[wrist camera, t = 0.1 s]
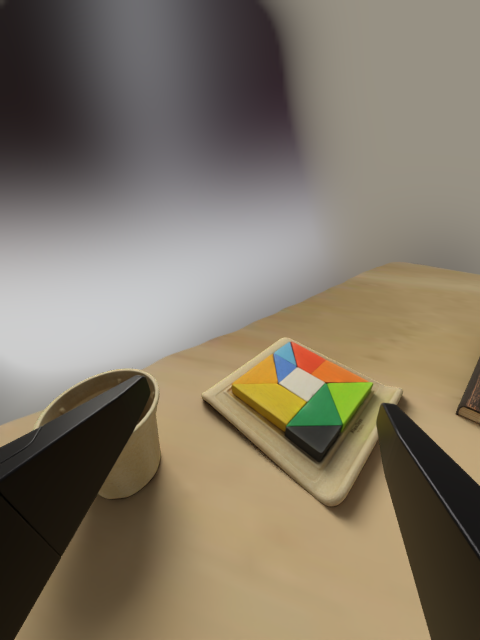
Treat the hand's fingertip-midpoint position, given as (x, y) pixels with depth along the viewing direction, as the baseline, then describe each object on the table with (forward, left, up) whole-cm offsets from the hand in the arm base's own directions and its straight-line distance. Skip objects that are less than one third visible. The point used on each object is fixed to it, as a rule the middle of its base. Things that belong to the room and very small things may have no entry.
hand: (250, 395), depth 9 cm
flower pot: (+5, +14, -17) cm, 22 cm away
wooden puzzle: (+17, -2, -17) cm, 24 cm away
